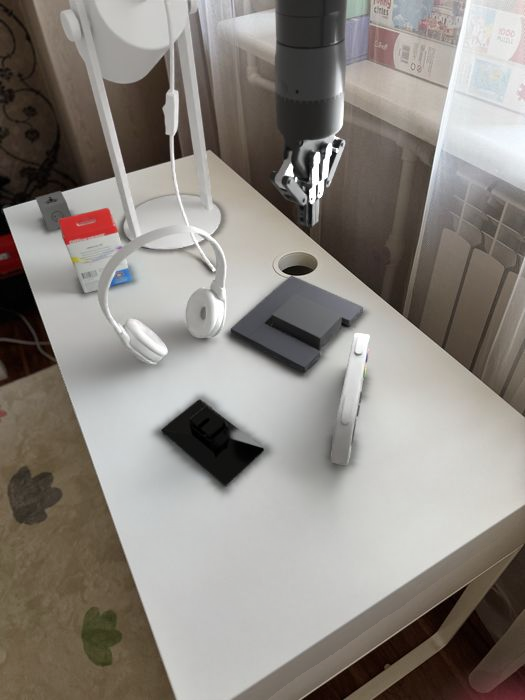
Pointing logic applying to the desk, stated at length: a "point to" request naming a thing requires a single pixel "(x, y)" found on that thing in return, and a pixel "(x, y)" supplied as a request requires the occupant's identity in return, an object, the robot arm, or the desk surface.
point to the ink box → (93, 247)
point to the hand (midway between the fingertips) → (308, 223)
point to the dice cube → (53, 209)
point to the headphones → (201, 308)
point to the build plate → (212, 442)
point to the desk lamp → (134, 64)
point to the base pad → (279, 343)
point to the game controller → (350, 400)
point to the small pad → (306, 321)
